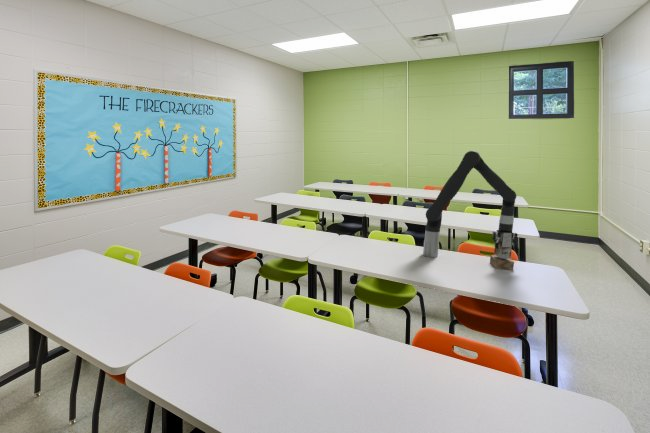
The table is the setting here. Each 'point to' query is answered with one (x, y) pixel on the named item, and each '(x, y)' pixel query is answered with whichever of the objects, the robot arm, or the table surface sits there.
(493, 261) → the walnut block
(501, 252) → the coffee box
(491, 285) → the table surface
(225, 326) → the table surface
